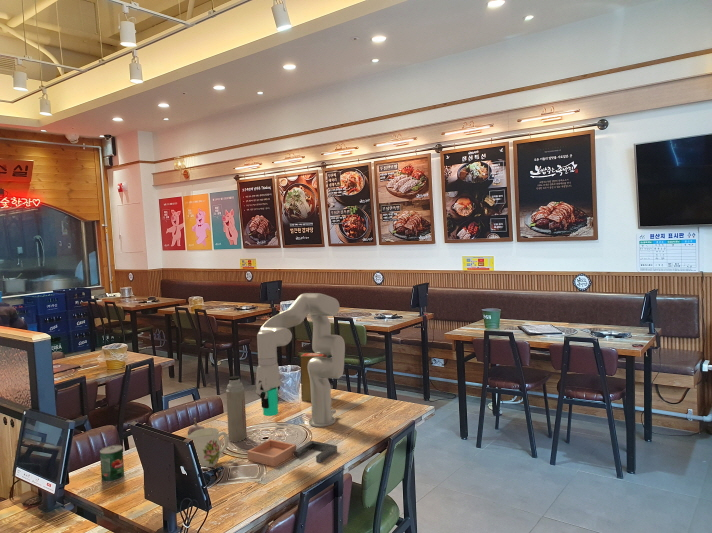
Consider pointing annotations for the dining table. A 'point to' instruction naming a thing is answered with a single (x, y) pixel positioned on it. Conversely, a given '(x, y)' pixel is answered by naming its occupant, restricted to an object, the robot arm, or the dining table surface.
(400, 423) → the dining table surface
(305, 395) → the food packaging
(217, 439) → the pitcher
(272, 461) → the tray
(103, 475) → the canned tomato
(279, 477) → the dining table surface
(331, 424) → the robot arm
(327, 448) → the dock
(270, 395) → the candle
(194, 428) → the garlic bulb
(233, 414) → the thermos bottle
